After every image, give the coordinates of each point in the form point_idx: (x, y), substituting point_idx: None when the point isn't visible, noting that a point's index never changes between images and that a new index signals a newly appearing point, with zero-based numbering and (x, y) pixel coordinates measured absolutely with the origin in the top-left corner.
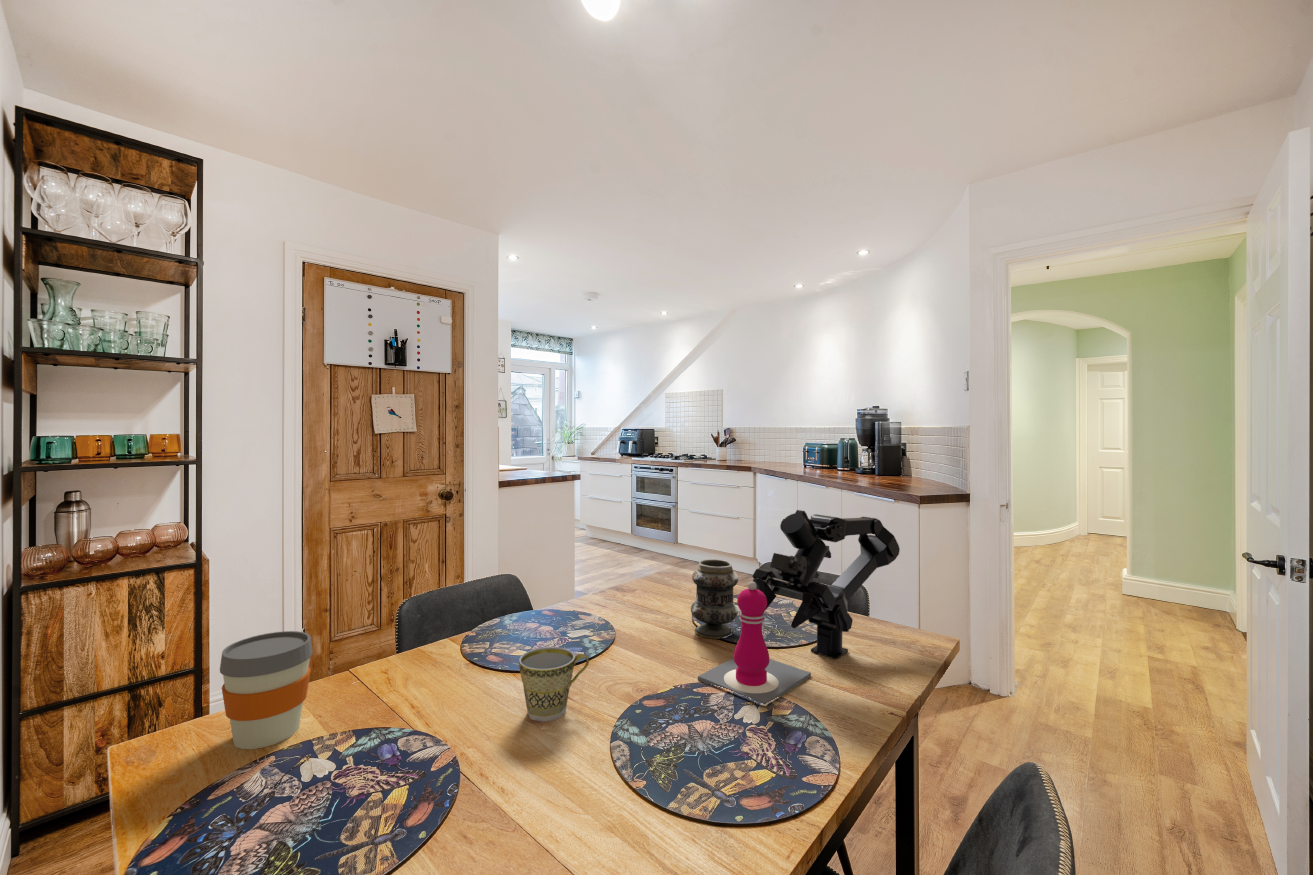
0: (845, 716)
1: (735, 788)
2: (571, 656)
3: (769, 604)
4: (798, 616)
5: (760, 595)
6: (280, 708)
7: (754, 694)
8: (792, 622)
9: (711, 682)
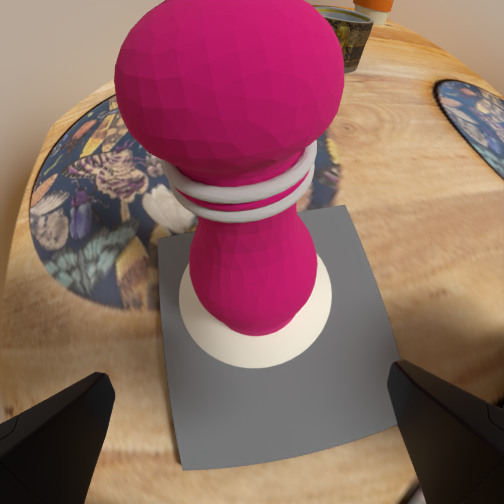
0: (45, 341)
1: (105, 122)
2: (345, 24)
3: (424, 495)
4: (47, 400)
5: (132, 28)
6: (356, 2)
7: None
8: (93, 381)
9: (305, 212)
